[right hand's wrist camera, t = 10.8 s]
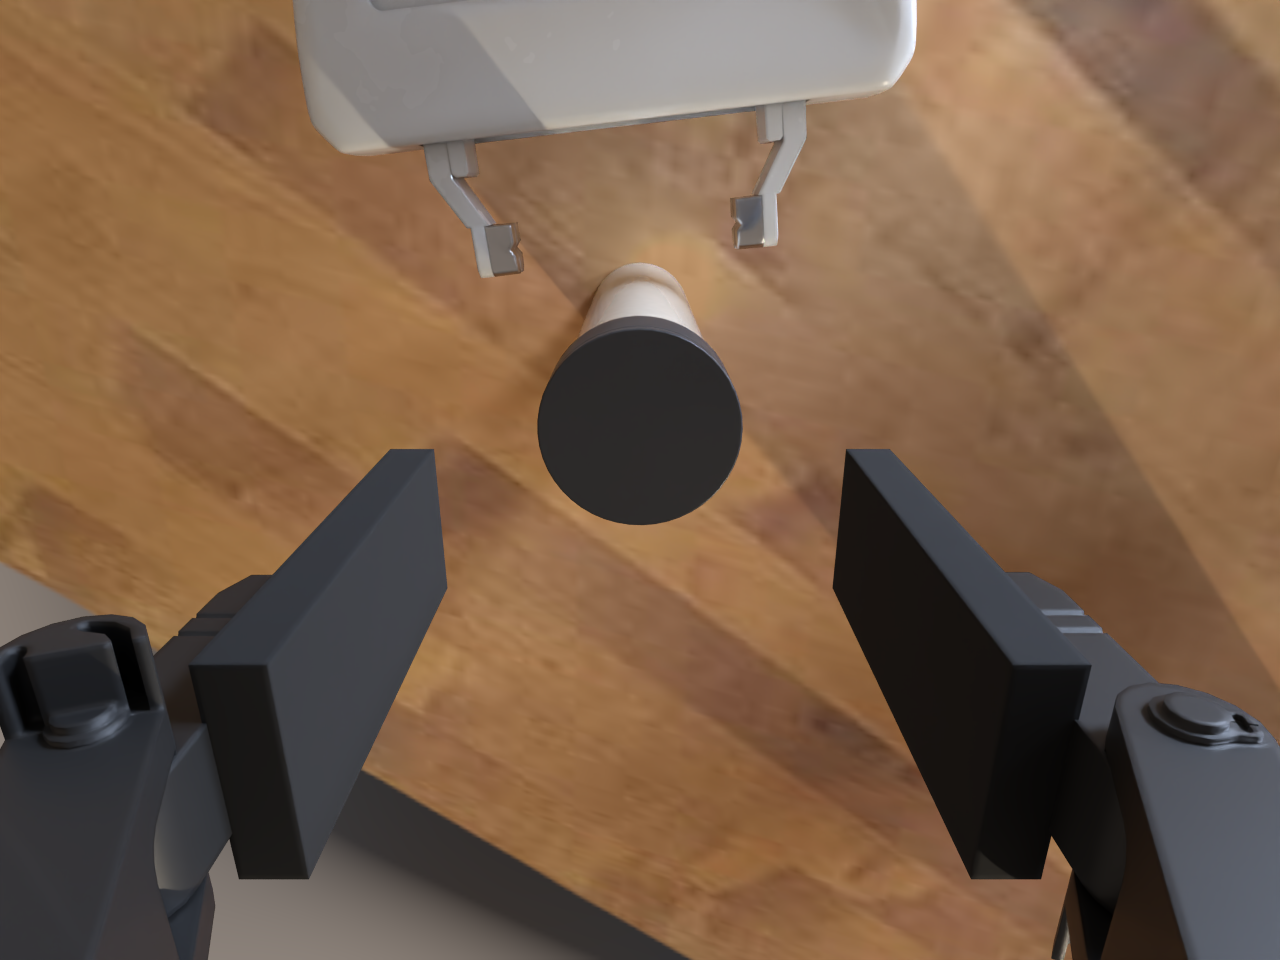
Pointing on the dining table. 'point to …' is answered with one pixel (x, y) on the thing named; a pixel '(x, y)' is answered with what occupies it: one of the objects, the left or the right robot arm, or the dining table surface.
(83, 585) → the dining table surface
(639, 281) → the slim white bottle
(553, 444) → the lid
